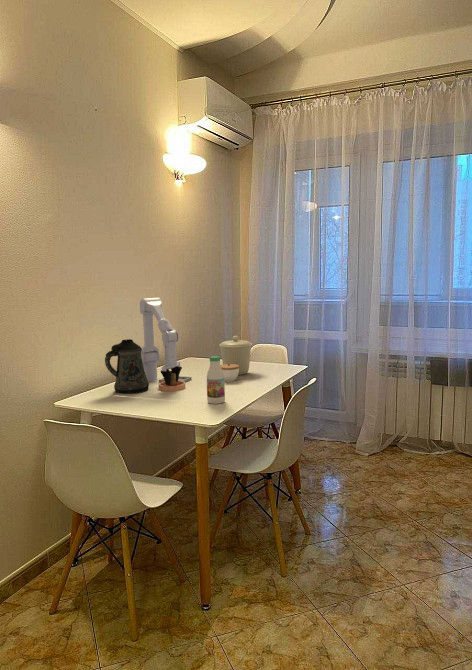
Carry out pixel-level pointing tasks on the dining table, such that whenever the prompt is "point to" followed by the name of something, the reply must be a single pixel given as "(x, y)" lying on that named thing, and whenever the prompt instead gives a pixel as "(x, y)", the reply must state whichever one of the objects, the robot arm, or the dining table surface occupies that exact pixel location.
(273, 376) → the dining table surface
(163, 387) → the terracotta bowl
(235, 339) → the canister
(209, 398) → the milk bottle
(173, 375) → the walnut peg
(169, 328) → the robot arm
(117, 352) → the beer stein
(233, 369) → the lidded jar
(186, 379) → the slate tray
